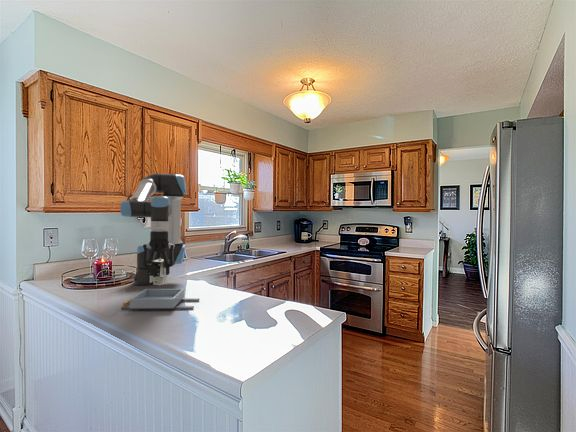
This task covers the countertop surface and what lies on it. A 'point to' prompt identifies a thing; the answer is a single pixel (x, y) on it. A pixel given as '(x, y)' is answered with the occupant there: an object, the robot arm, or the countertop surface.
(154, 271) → the pneumatic valve
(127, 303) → the rails
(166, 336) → the countertop surface
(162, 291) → the shallow square tray
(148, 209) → the robot arm
